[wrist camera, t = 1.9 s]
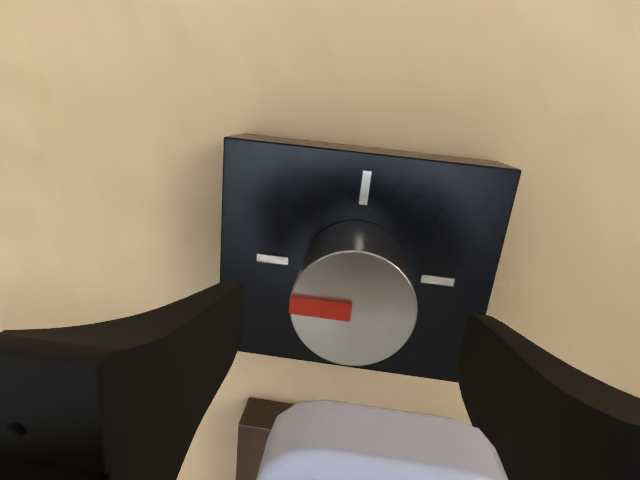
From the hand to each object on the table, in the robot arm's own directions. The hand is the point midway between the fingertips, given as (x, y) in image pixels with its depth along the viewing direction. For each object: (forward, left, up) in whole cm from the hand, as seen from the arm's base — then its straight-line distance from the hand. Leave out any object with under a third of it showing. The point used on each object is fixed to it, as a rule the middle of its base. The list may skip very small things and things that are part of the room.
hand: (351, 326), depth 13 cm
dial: (0, 0, -5) cm, 5 cm away
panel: (0, 0, -8) cm, 8 cm away
